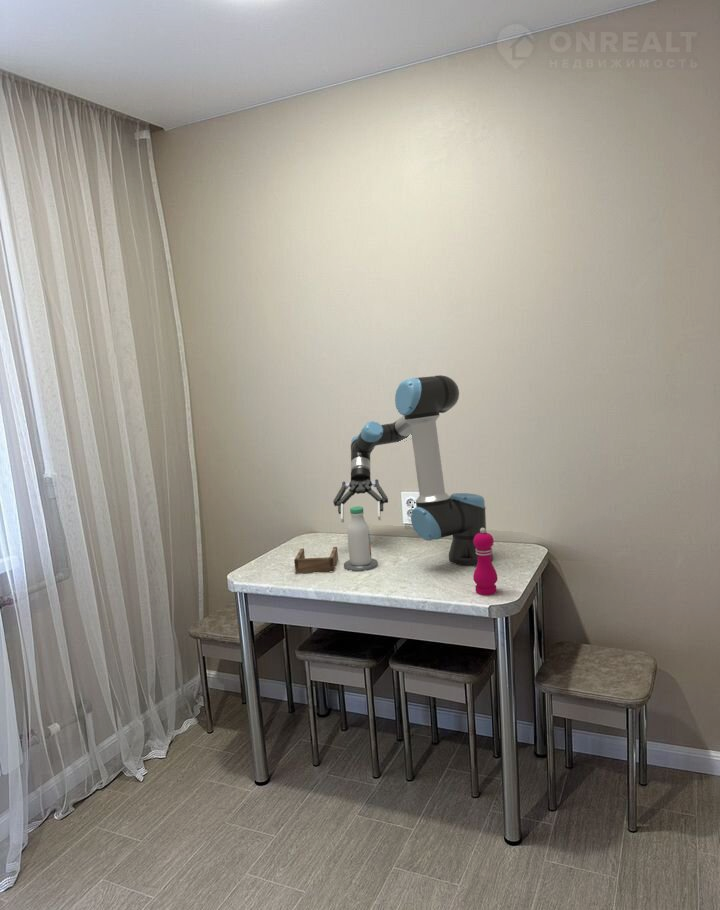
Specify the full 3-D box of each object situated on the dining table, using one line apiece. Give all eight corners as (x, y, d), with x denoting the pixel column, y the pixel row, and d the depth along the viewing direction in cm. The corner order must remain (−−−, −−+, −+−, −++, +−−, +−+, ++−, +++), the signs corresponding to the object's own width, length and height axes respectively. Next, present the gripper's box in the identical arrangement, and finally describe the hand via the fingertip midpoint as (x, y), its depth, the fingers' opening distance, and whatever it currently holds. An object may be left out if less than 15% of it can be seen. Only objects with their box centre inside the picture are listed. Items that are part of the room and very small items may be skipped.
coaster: (383, 566, 245) (383, 563, 245) (352, 573, 240) (352, 570, 240) (368, 558, 256) (368, 555, 256) (338, 564, 251) (338, 562, 251)
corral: (333, 572, 243) (332, 558, 243) (295, 573, 245) (294, 560, 244) (338, 559, 257) (336, 546, 256) (301, 561, 258) (300, 548, 257)
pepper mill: (471, 595, 212) (468, 530, 209) (476, 586, 218) (473, 524, 215) (495, 596, 209) (492, 531, 206) (500, 588, 216) (497, 524, 213)
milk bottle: (369, 566, 243) (365, 510, 240) (347, 566, 245) (343, 510, 242) (373, 559, 251) (369, 504, 247) (352, 559, 252) (348, 505, 249)
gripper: (393, 475, 271) (395, 522, 258) (329, 479, 273) (328, 526, 261) (392, 463, 265) (394, 512, 252) (326, 468, 267) (325, 516, 255)
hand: (360, 519), depth 257 cm, fingers open, 13 cm apart
